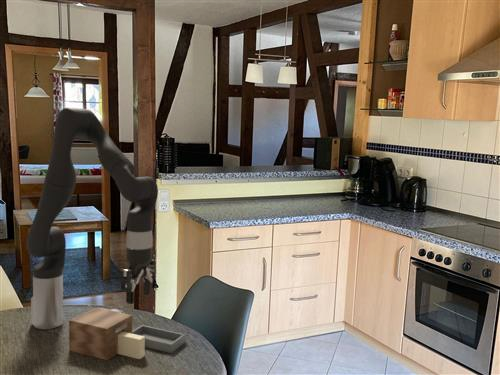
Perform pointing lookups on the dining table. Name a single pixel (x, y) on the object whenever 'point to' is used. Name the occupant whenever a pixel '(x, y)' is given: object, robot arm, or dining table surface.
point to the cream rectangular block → (130, 345)
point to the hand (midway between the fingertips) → (138, 298)
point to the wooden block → (97, 332)
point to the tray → (160, 338)
